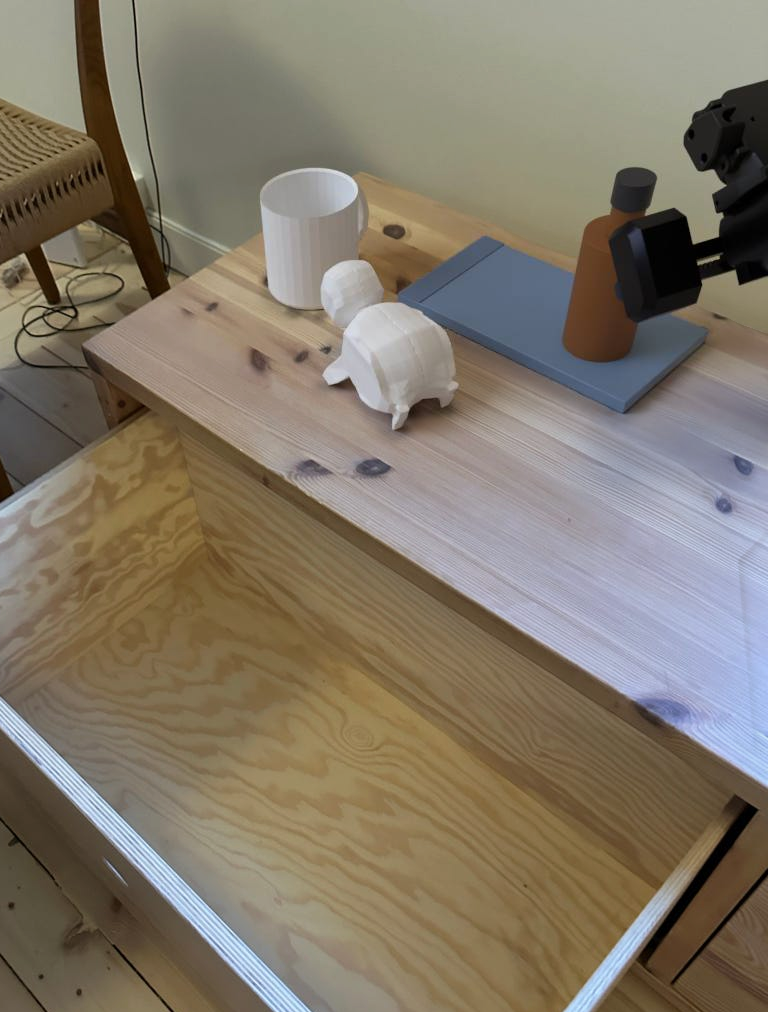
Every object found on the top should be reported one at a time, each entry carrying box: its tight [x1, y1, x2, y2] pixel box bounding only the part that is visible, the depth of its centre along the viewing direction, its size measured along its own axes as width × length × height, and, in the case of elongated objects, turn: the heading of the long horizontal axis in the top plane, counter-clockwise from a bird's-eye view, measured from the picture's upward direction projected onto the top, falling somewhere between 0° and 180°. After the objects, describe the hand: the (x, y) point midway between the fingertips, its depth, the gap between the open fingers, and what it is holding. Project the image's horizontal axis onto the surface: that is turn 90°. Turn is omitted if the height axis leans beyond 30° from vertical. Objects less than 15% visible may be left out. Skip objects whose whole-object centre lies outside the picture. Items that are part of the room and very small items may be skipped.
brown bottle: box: [562, 166, 658, 362], centre depth 73 cm, size 6×6×14 cm
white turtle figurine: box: [321, 259, 460, 431], centre depth 77 cm, size 9×8×15 cm
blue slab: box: [397, 234, 709, 414], centre depth 83 cm, size 25×13×1 cm, turn 45°
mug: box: [259, 167, 370, 311], centre depth 86 cm, size 12×9×9 cm
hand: (670, 276), depth 68 cm, fingers open, 9 cm apart
